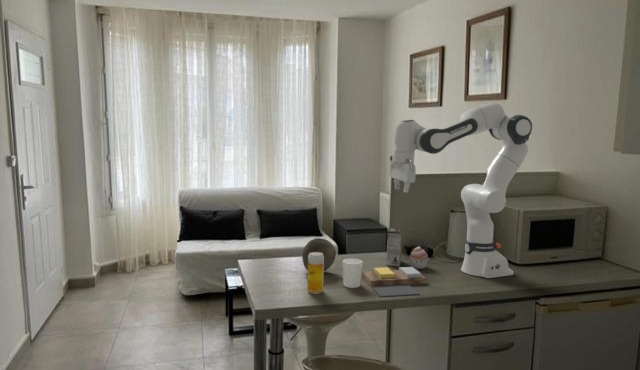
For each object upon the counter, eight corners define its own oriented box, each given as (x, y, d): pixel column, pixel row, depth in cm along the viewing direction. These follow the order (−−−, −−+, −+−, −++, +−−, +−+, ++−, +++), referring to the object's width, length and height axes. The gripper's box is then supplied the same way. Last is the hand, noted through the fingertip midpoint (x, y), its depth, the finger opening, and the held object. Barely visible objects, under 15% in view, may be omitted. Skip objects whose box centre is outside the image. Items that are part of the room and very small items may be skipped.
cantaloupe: (316, 280, 197) (317, 244, 195) (295, 271, 208) (296, 238, 206) (341, 273, 207) (342, 239, 205) (319, 265, 217) (320, 233, 215)
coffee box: (387, 260, 229) (388, 227, 227) (400, 261, 228) (402, 228, 226) (386, 265, 220) (387, 231, 218) (400, 266, 219) (401, 232, 217)
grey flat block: (412, 270, 205) (412, 266, 205) (420, 277, 196) (420, 273, 196) (398, 271, 204) (399, 267, 203) (407, 277, 195) (407, 273, 195)
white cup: (355, 290, 186) (356, 265, 185) (338, 286, 191) (339, 261, 189) (364, 284, 193) (365, 260, 192) (347, 280, 197) (348, 257, 196)
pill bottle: (307, 288, 186) (307, 251, 185) (322, 288, 187) (323, 251, 185) (307, 294, 180) (308, 256, 179) (323, 294, 181) (324, 255, 179)
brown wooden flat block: (414, 274, 207) (415, 269, 207) (426, 283, 195) (426, 278, 195) (361, 277, 202) (362, 271, 202) (370, 286, 190) (370, 280, 190)
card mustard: (387, 270, 204) (387, 267, 203) (394, 277, 195) (394, 273, 195) (373, 271, 202) (373, 267, 202) (380, 278, 194) (380, 274, 193)
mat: (408, 285, 193) (408, 284, 193) (419, 294, 183) (419, 293, 183) (370, 287, 190) (370, 286, 190) (379, 296, 179) (380, 295, 179)
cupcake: (432, 269, 215) (433, 248, 214) (414, 271, 212) (415, 249, 211) (421, 263, 224) (422, 243, 223) (404, 265, 221) (405, 244, 219)
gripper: (420, 160, 192) (418, 194, 193) (401, 157, 211) (399, 187, 213) (405, 160, 190) (403, 194, 192) (388, 156, 210) (386, 187, 212)
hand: (401, 190), depth 203 cm, fingers open, 8 cm apart
